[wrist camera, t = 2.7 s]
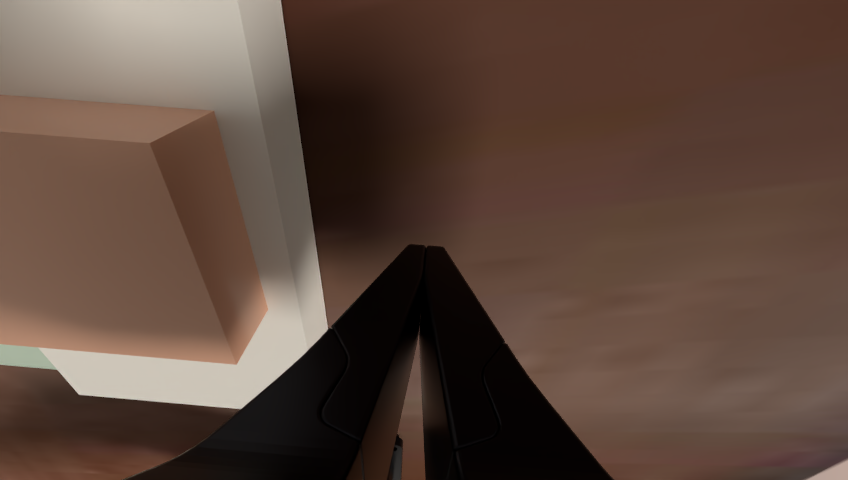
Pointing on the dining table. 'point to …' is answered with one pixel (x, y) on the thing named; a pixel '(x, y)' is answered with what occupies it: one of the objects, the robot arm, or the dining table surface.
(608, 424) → the dining table surface
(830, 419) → the dining table surface
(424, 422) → the robot arm
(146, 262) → the tile
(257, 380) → the deck
